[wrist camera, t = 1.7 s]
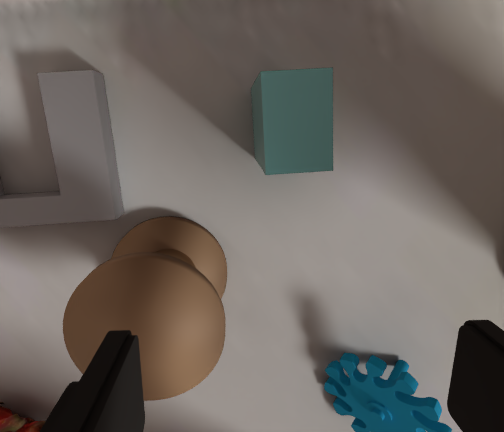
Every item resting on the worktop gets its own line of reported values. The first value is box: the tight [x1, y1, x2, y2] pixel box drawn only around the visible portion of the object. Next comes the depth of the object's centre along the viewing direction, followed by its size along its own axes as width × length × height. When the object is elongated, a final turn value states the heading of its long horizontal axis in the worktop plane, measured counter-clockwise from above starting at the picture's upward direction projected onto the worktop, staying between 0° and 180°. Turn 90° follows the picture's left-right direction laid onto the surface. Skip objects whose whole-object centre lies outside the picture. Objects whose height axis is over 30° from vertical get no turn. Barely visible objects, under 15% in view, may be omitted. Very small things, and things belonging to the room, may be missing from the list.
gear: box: [324, 353, 452, 432], centre depth 31 cm, size 11×6×10 cm
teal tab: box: [251, 67, 333, 175], centre depth 23 cm, size 4×5×9 cm
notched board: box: [0, 70, 124, 228], centre depth 26 cm, size 12×10×2 cm
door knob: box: [63, 216, 227, 401], centre depth 25 cm, size 9×9×9 cm
